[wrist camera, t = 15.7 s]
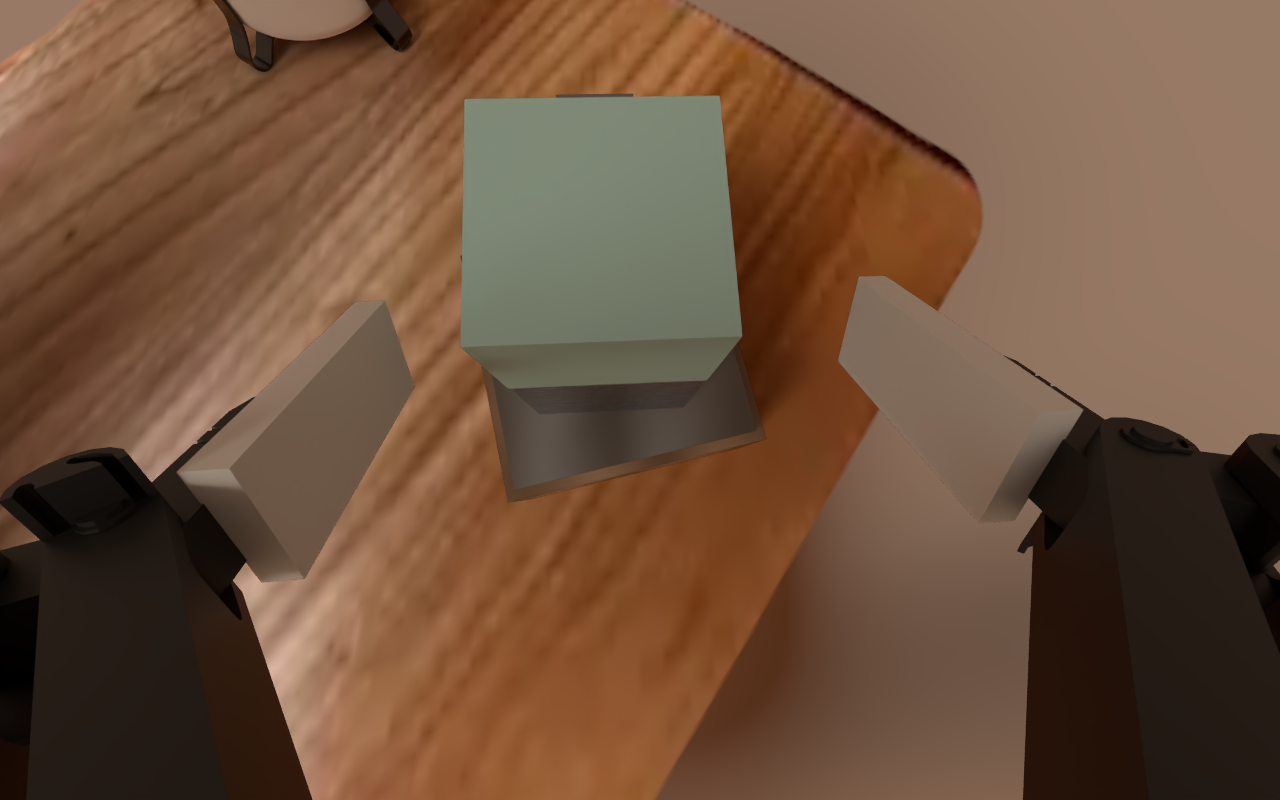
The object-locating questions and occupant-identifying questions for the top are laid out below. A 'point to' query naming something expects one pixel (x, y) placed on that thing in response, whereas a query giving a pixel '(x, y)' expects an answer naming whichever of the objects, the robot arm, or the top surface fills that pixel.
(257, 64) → the coffee press
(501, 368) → the lid
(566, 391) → the base
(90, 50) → the top surface
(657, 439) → the walnut stand
